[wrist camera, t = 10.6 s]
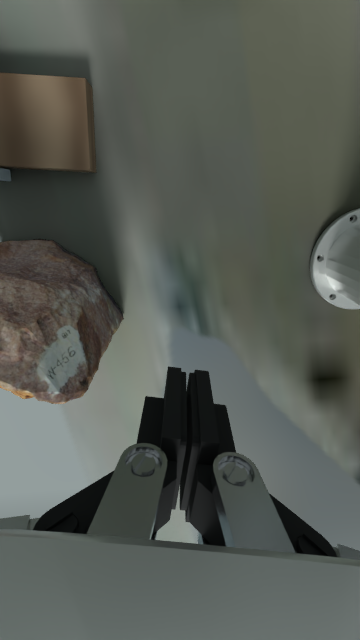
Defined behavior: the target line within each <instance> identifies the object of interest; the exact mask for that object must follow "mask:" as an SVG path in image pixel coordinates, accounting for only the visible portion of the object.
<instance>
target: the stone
mask: <svg viewBox="0 0 360 640" xmlns="http://www.w3.org/2000/svg"><path fill="white" fill-rule="evenodd" d="M123 319H124V318H123V314H122V312H121V310H120V308H119V307H118V306H117V304H116V303H115V301H114V299H113V297H112V296H111V295H110V294H109V293H108V292H107V290H106V289H105V287H104V286H103V284H102V283H101V280H100V279H99V277H98V276H97V270H96V268H95V267H94V266H92V265H91V264H89V263H87V262H85V261H84V260H83V259H82V258H80V257H79V256H77V255H75V254H73V253H71V252H68V251H67V250H65V249H64V248H63V247H62V246H60V245H59V244H58V243H56V242H55V241H53V240H48V241H46V239H45V240H43V239H42V240H41V239H38V240H36V239H33V240H24V241H4V242H0V388H2V389H5V390H8V391H11V392H12V393H13V394H15V395H17V396H20V397H21V398H22V399H27V398H32V397H35V398H36V399H37V400H38V401H46V402H49V403H52V404H64V403H66V402H68V401H70V400H72V399H76V398H80V397H82V396H83V395H84V394H85V392H86V391H87V390H88V387H89V385H90V383H91V381H92V379H93V377H94V374H95V373H96V371H97V370H98V366H99V362H100V358H101V357H102V355H103V354H104V352H105V351H106V349H107V347H108V345H109V343H110V342H111V339H112V338H111V337H112V335H113V334H114V333H115V332H116V331H117V329H118V328H119V326H120V323H121V321H122V320H123Z"/></svg>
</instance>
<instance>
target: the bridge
mask: <svg viewBox="0 0 360 640" xmlns="http://www.w3.org/2000/svg"><path fill="white" fill-rule="evenodd" d="M0 181H11V174H10V170H8V169H3V168H0Z"/></svg>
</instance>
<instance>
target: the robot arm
mask: <svg viewBox="0 0 360 640" xmlns="http://www.w3.org/2000/svg"><path fill="white" fill-rule="evenodd" d="M350 217H351V220H350ZM318 256H319V258H318V259H317V257H318ZM310 275H311V280H312V283H313V286H314V287H315V289H316V291H317V292H318V293H319V294H320V295H321V296H322V298H323V299H325V300H326V301H328V302H329V303H331V304H333V305H335V306H337V307H341V308H344V309H360V208H358V209H355V210H352V211H349V212H347V213H346V214H344V215H342V216H340V217H339V218H337V219H336V220H335V221H333V222H332V223H331V224H330V225H329V226H328V227H327V228H326V229H325V230H324V231H323V233H322V234H321V236H320V237H319V239H318V240H317V242H316V245H315V247H314V249H313V252H312V256H311V260H310ZM330 295H331V296H330ZM179 485H180V510H185V514H186V522H190V523H191V524H192V525H193V526H194V527H195V528H196V529H197V530H198V534H197V536H198V544H193V543H182V542H171V541H160V540H156V537H157V531H158V530H159V529H160V528H161V527H162V526H163V525H165V524H166V523H167V522H168V521H169V520H170V515H171V509H175V508H176V502H177V497H178V491H179ZM0 640H360V551H359V550H355V549H352V548H349V547H346V546H343V545H340V544H337V546H336V547H332V546H331V545H330V544H329V542H328V541H327V540H326V539H325V538H324V537H323V536H322V535H321V534H319V533H318V532H317V531H315V530H314V529H313V528H312V527H311V526H309V525H308V524H307V523H306V522H304V521H303V520H302V519H300V518H299V517H298V516H297V515H296V514H294V513H293V512H292V511H291V510H289V509H288V508H287V507H285V506H284V505H283V504H282V503H281V502H279V501H278V500H277V499H275V498H274V497H273V496H272V495H271V494H269V493H268V490H267V488H266V486H265V484H264V482H263V479H262V477H261V475H260V473H259V471H258V469H257V467H256V466H255V464H254V463H253V462H252V461H251V460H250V459H249V458H247V457H245V456H244V455H241V454H239V453H236V450H235V446H234V441H233V436H232V432H231V427H230V422H229V418H228V413H227V408H226V406H225V405H220V404H214V403H213V397H212V390H211V384H210V378H209V372H208V371H201V370H195V372H194V373H190V374H189V379H188V385H187V392H186V372H181V368H175V367H168V371H167V379H166V387H165V394H164V398H156V397H147V396H146V397H145V402H144V407H143V413H142V418H141V423H140V428H139V434H138V439H137V444H134V445H132V446H130V447H128V448H127V449H126V450H125V451H124V452H123V454H122V455H121V457H120V459H119V462H118V464H117V466H116V468H115V470H114V471H113V472H111V473H109V474H108V475H106V476H104V477H103V478H101V479H99V480H98V481H96V482H95V483H93V484H91V485H90V486H88V487H86V488H85V489H83V490H81V491H80V492H78V493H76V494H75V495H73V496H71V497H70V498H68V499H66V500H65V501H63V502H62V503H60V504H58V505H57V506H55V507H53V508H52V509H50V510H49V511H47V512H46V513H45V514H44V515H42V516H41V518H35V519H30V515H25V516H17V517H11V518H3V519H0Z"/></svg>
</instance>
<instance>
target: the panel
mask: <svg viewBox="0 0 360 640" xmlns="http://www.w3.org/2000/svg"><path fill="white" fill-rule="evenodd" d="M0 168H18V169H37V170H55V171H73V172H91V173H96V155H95V134H94V113H93V92H92V86H91V85H90V84H89V82H88V81H87V80H86V78H76V77H60V76H45V75H29V74H13V73H0Z"/></svg>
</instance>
